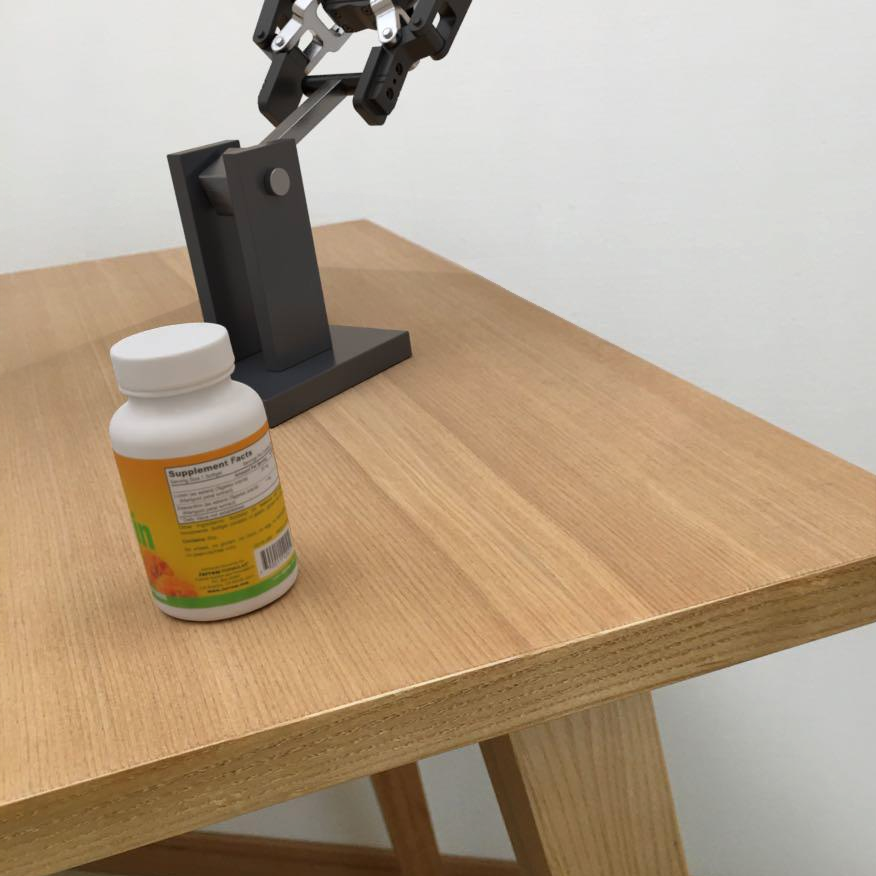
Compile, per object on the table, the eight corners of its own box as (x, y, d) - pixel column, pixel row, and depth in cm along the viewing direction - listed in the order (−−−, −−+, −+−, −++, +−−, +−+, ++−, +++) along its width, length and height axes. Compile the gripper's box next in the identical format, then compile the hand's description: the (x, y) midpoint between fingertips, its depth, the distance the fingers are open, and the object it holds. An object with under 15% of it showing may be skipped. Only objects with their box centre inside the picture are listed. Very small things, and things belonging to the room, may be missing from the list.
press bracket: (284, 343, 76) (241, 128, 70) (413, 355, 71) (378, 124, 65) (136, 409, 67) (74, 169, 61) (271, 428, 62) (217, 168, 56)
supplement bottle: (149, 578, 48) (83, 335, 43) (286, 544, 49) (235, 307, 45) (162, 639, 43) (89, 375, 39) (313, 600, 44) (259, 342, 40)
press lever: (321, 100, 72) (304, 61, 70) (388, 97, 69) (372, 57, 68) (199, 216, 65) (177, 176, 64) (267, 217, 63) (247, 176, 61)
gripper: (283, -158, 73) (182, 80, 69) (483, -196, 65) (382, 68, 62) (354, -64, 79) (265, 160, 75) (544, -89, 72) (456, 157, 68)
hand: (318, 117), depth 68 cm, fingers open, 6 cm apart
